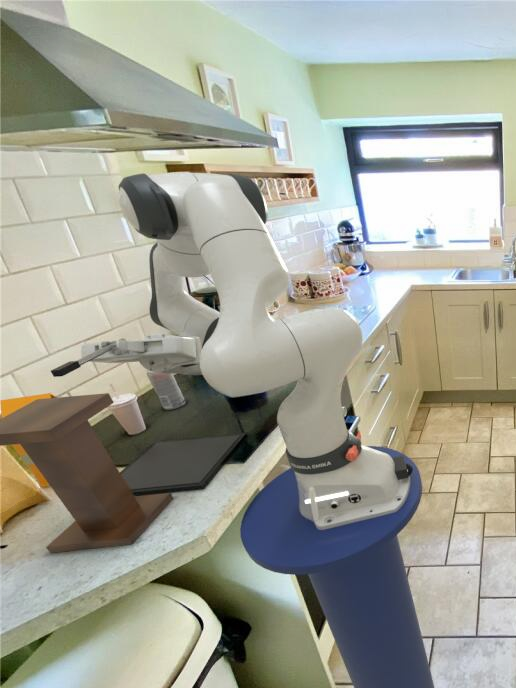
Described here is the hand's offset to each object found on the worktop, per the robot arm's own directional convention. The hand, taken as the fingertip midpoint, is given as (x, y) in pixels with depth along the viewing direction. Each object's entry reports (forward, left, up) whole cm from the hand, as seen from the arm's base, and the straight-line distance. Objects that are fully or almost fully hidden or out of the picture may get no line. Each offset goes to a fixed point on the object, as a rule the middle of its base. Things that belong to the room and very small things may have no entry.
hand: (108, 345), depth 83 cm
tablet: (-1, 0, -30) cm, 30 cm away
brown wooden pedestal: (0, +18, -30) cm, 35 cm away
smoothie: (+20, -18, -30) cm, 41 cm away
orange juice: (+22, -1, -30) cm, 37 cm away
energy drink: (+18, -31, -30) cm, 47 cm away
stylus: (0, +4, -1) cm, 4 cm away
